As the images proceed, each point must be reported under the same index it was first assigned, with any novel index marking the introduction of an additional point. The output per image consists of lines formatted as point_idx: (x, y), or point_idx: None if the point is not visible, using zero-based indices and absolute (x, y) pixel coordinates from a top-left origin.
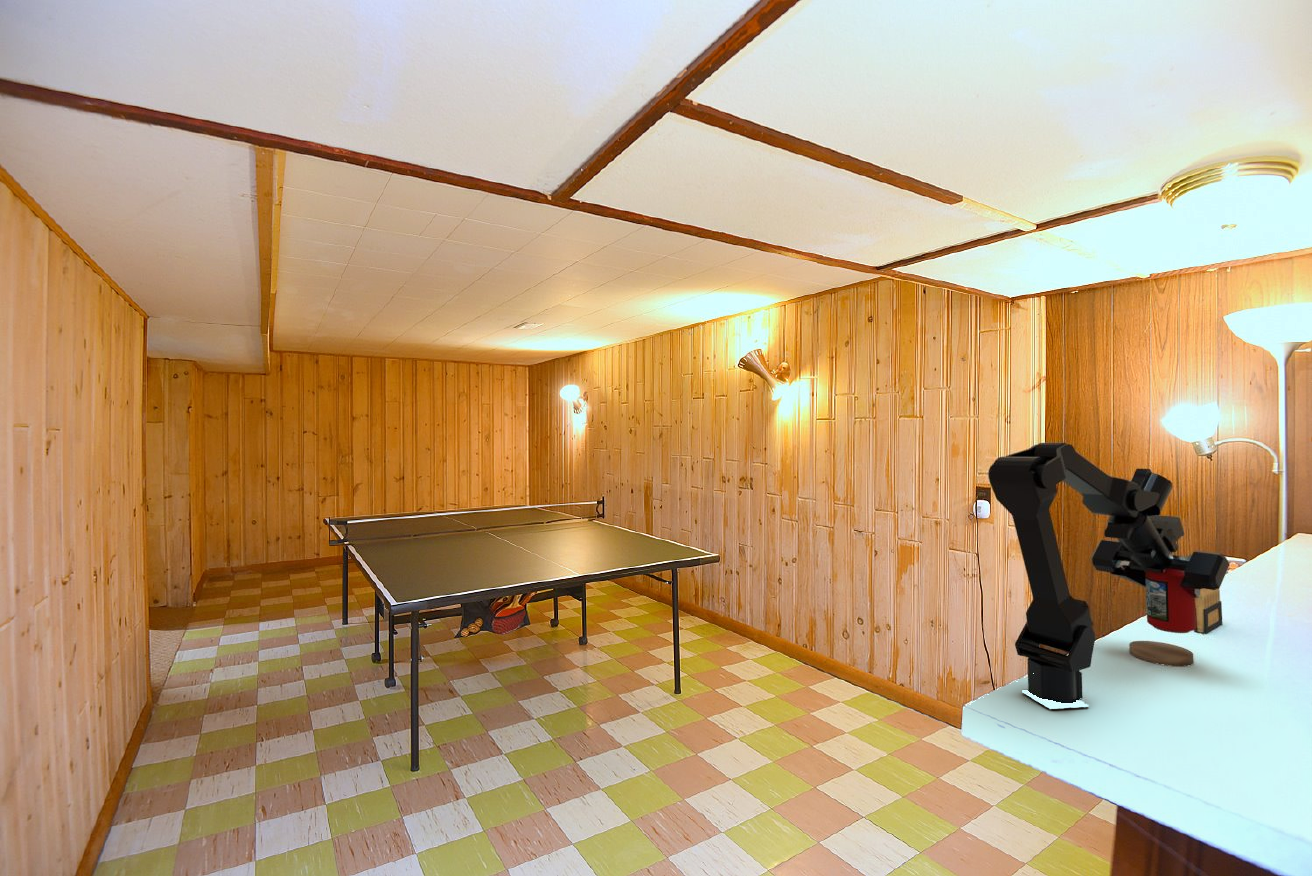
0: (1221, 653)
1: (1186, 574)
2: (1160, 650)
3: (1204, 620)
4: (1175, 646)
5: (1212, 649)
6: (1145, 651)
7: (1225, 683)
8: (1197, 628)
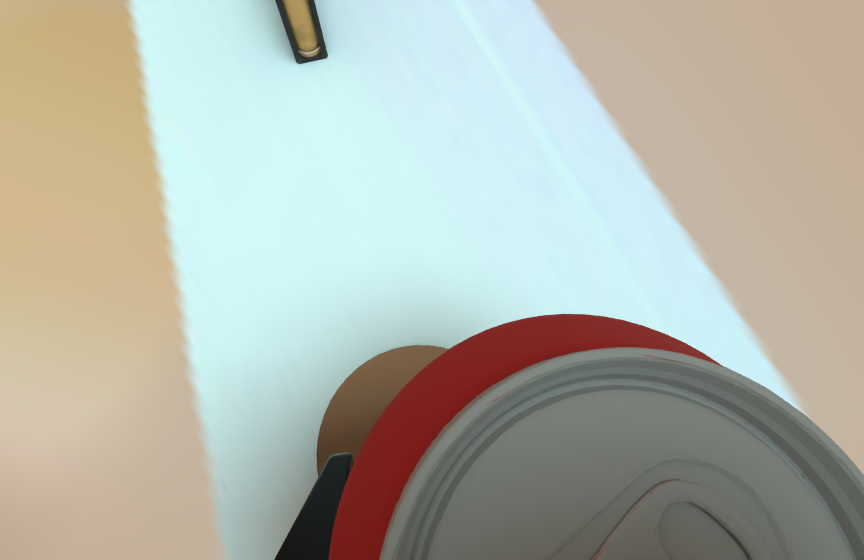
0: (466, 206)
1: None
2: None
3: (314, 17)
4: (422, 359)
5: (430, 191)
6: None
7: None
8: (299, 47)
